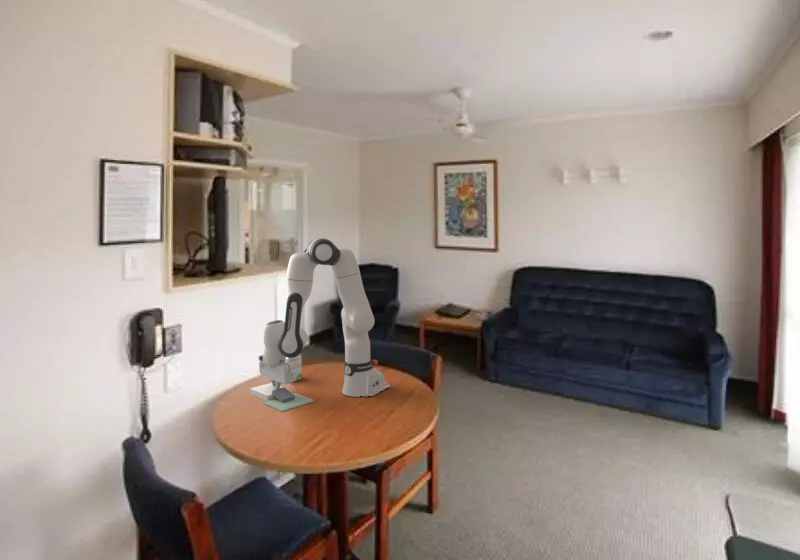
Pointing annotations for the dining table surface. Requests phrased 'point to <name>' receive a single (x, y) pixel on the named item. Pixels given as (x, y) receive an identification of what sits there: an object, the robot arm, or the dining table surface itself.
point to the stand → (264, 391)
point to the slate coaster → (283, 394)
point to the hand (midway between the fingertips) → (276, 389)
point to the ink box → (295, 367)
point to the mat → (288, 403)
